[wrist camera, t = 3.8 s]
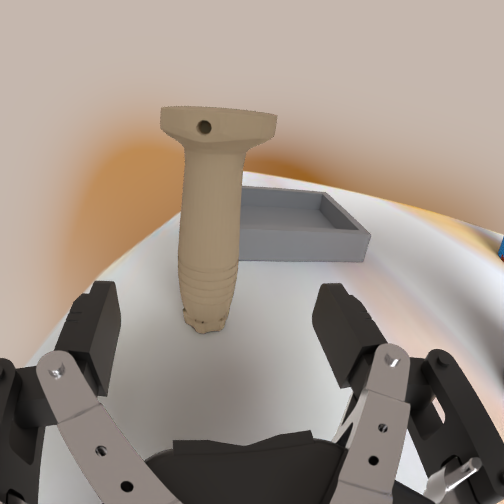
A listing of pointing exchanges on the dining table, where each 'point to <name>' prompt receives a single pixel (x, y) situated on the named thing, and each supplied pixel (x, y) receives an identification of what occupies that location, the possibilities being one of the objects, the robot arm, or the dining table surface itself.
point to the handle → (212, 203)
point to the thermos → (501, 250)
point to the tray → (298, 227)
